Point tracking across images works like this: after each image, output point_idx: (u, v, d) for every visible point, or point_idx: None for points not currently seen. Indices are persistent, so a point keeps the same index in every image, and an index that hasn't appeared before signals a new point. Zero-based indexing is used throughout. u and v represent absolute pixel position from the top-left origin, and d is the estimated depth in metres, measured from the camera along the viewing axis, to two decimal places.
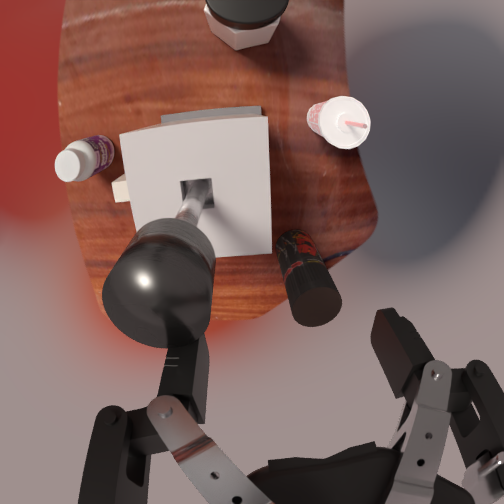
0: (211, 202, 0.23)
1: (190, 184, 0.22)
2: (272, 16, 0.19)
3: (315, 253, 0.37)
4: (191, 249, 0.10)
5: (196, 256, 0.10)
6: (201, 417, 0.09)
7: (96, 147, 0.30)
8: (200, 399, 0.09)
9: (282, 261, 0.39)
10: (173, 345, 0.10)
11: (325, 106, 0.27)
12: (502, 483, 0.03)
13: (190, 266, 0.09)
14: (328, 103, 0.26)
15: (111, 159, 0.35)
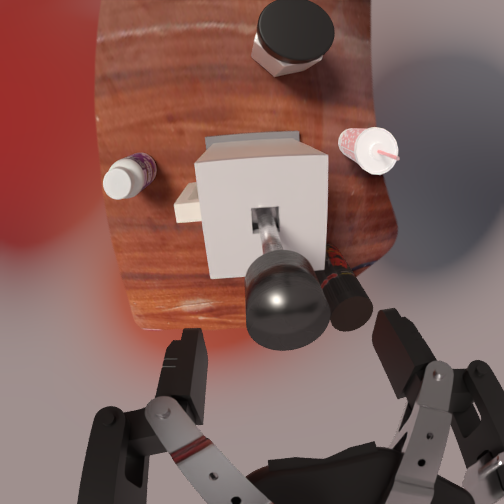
0: None
1: (255, 209, 0.26)
2: (320, 54, 0.23)
3: (346, 266, 0.41)
4: (312, 275, 0.14)
5: (316, 280, 0.14)
6: (199, 418, 0.09)
7: (143, 165, 0.34)
8: (198, 400, 0.09)
9: (316, 273, 0.42)
10: (294, 347, 0.14)
11: (361, 137, 0.30)
12: (502, 484, 0.03)
13: (318, 289, 0.13)
14: (363, 134, 0.30)
15: (154, 177, 0.39)
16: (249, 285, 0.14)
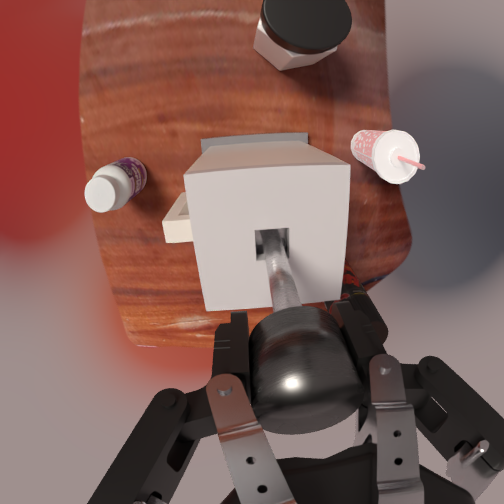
0: None
1: None
2: (336, 43, 0.19)
3: (358, 283, 0.36)
4: (343, 347, 0.09)
5: (348, 353, 0.09)
6: None
7: (130, 172, 0.30)
8: None
9: None
10: (313, 430, 0.09)
11: (380, 140, 0.26)
12: (491, 465, 0.04)
13: (352, 370, 0.08)
14: (383, 137, 0.26)
15: (144, 184, 0.35)
16: (255, 360, 0.10)
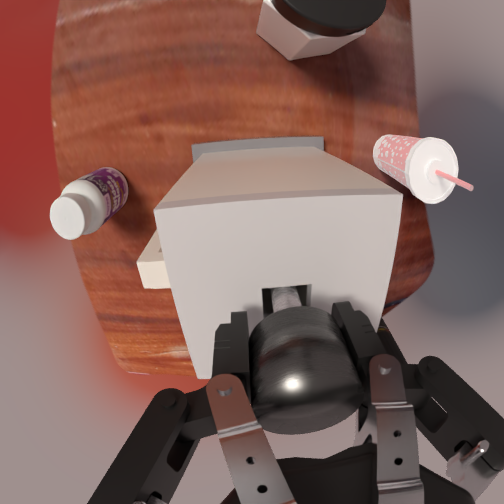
0: None
1: None
2: (368, 22, 0.13)
3: None
4: (343, 347, 0.09)
5: (348, 353, 0.09)
6: None
7: (104, 188, 0.24)
8: None
9: None
10: (312, 430, 0.09)
11: (416, 150, 0.20)
12: (491, 465, 0.04)
13: (353, 370, 0.08)
14: (419, 147, 0.19)
15: (125, 200, 0.29)
16: (255, 360, 0.10)
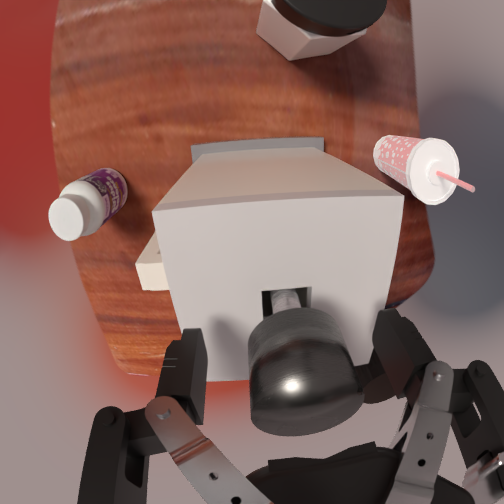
0: None
1: None
2: (369, 22, 0.12)
3: None
4: (342, 349, 0.09)
5: (347, 355, 0.09)
6: (199, 418, 0.09)
7: (103, 189, 0.23)
8: (198, 400, 0.09)
9: None
10: (312, 432, 0.09)
11: (417, 151, 0.19)
12: (502, 484, 0.03)
13: (352, 371, 0.08)
14: (420, 148, 0.19)
15: (124, 200, 0.28)
16: (254, 361, 0.10)
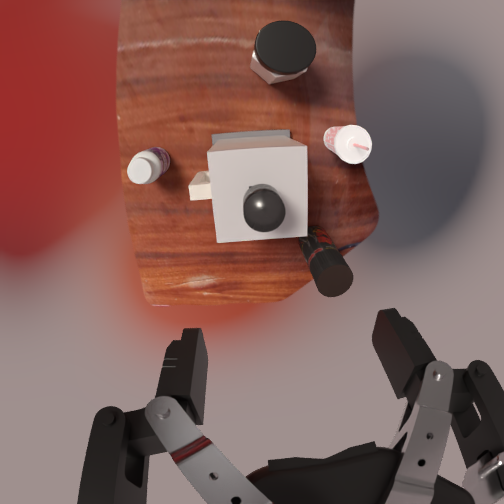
0: None
1: None
2: (304, 67, 0.31)
3: (331, 242, 0.48)
4: (276, 193, 0.28)
5: (278, 195, 0.28)
6: (199, 418, 0.09)
7: (160, 157, 0.42)
8: (198, 400, 0.09)
9: (306, 250, 0.50)
10: (268, 230, 0.28)
11: (339, 133, 0.38)
12: (502, 484, 0.03)
13: (278, 196, 0.27)
14: (341, 130, 0.38)
15: (168, 167, 0.47)
16: (245, 198, 0.28)
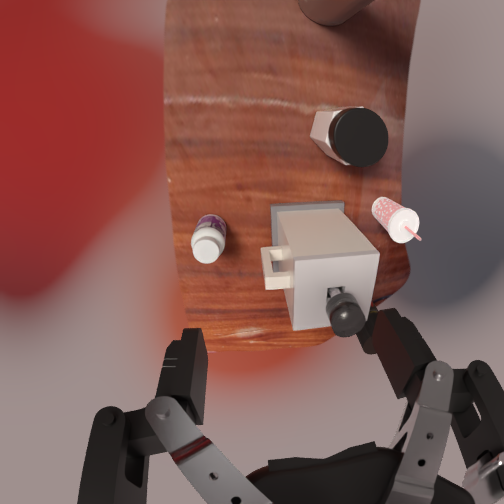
0: None
1: None
2: (376, 161, 0.34)
3: (372, 304, 0.52)
4: (358, 304, 0.31)
5: (359, 307, 0.31)
6: (199, 418, 0.09)
7: (222, 232, 0.45)
8: (198, 400, 0.09)
9: None
10: (349, 335, 0.31)
11: (394, 217, 0.41)
12: (502, 484, 0.03)
13: (361, 310, 0.30)
14: (396, 215, 0.41)
15: None
16: (332, 309, 0.31)
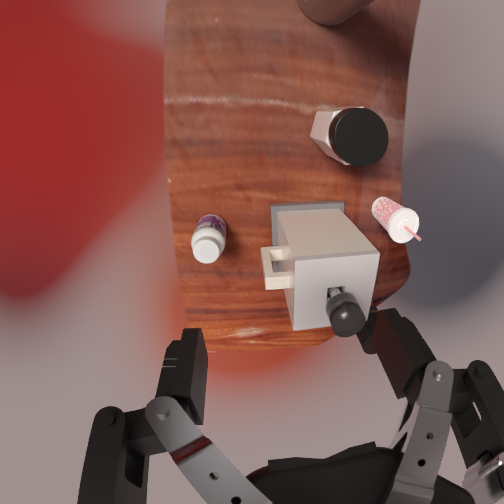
0: None
1: None
2: (376, 161, 0.34)
3: (372, 304, 0.52)
4: (358, 304, 0.31)
5: (359, 306, 0.31)
6: (199, 418, 0.09)
7: (222, 232, 0.45)
8: (198, 400, 0.09)
9: None
10: (349, 335, 0.31)
11: (394, 217, 0.41)
12: (502, 484, 0.03)
13: (361, 310, 0.30)
14: (396, 215, 0.41)
15: None
16: (332, 309, 0.31)
